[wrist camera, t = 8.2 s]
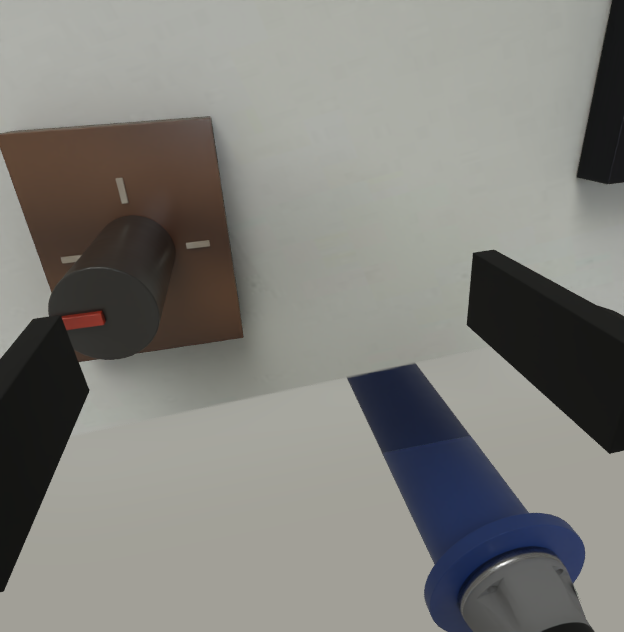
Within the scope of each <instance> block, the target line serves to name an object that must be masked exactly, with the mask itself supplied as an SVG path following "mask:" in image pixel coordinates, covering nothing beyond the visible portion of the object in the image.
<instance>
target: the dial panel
mask: <svg viewBox="0 0 624 632" xmlns="http://www.w3.org/2000/svg"><path fill="white" fill-rule="evenodd" d="M0 149H1V152H2V154H3V157H4V160H5V163H6V166H7V168H8V171H9V174H10V177H11V180H12V182H13V185H14V188H15V191H16V194H17V196H18V199H19V202H20V205H21V208H22V210H23V213H24V216H25V219H26V222H27V224H28V227H29V230H30V233H31V236H32V238H33V241H34V244H35V247H36V250H37V252H38V255H39V258H40V261H41V264H42V266H43V269H44V272H45V275H46V278H47V281H48V283H49V286H50V289H51V292H52V291H53V290H54V288H55V286H56V285H57V284H58V283H59V282H60V280H61V279H62V278H63V277H64V276H65V274H66V273H67V272H68V271H69V270H70V268H71V267H72V266H73V265H74V264H75V262H76V261H77V260H78V259H79V258H80V256H81V255H82V254H83V253H84V252H85V250H86V249H87V248H88V247H89V246H90V245H91V243H92V242H93V241H94V240H95V239H96V237H97V236H98V235H99V234H100V233H101V231H102V230H103V229H104V228H105V227H106V226H107V225H108V224H109V223H110V222H112V221H113V220H115V219H117V218H120V217H123V216H130V215H135V216H142V217H146V218H149V219H151V220H153V221H155V222H157V223H158V224H160V225H161V226H162V227H163V228H164V229H165V230H166V231H167V232H168V234H169V235H170V237H171V238H172V241H173V243H174V247H175V261H174V266H173V270H172V274H171V278H170V282H169V286H168V290H167V295H166V299H165V303H164V307H163V311H162V315H161V319H160V323H159V327H158V331H157V333H156V335H155V337H154V338H153V340H152V341H151V342H150V343H149V345H148V346H146V347H145V348H144V349H143V350H141V351H140V352H138V353H143V352H150V351H157V350H163V349H170V348H177V347H184V346H190V345H197V344H204V343H211V342H217V341H224V340H231V339H238V338H243V337H244V336H243V328H242V320H241V313H240V307H239V300H238V293H237V287H236V280H235V273H234V267H233V260H232V253H231V247H230V240H229V233H228V227H227V220H226V213H225V207H224V200H223V193H222V187H221V180H220V173H219V167H218V160H217V153H216V147H215V140H214V133H213V127H212V120H211V117H210V116H207V117H194V118H181V119H167V120H154V121H141V122H127V123H114V124H101V125H87V126H74V127H60V128H47V129H34V130H20V131H11V132H6V133H0ZM74 351H75V350H74ZM75 354H76V357H77V359H78V362H82V361H89V360H96V359H97V358H92V357H89V356H86V355H83V354H81V353H79V352H77V351H75Z"/></svg>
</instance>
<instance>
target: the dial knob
mask: <svg viewBox="0 0 624 632" xmlns="http://www.w3.org/2000/svg"><path fill="white" fill-rule="evenodd" d="M174 261H175V247H174V243H173V241H172V238H171V237H170V235H169V234H168V232H167V231H166V230H165V229H164V228H163V227H162V226H161V225H160V224H158V223H157V222H155V221H153V220H151V219H149V218H146V217H142V216H135V215H130V216H123V217H120V218H117V219H115V220H113V221H112V222H110V223H109V224H108V225H107V226H106V227H105V228H104V229H103V230H102V231H101V233H100V234H99V235H98V236H97V237H96V239H95V240H94V241H93V242H92V243H91V245H90V246H89V247H88V248H87V249H86V250H85V252H84V253H83V254H82V255H81V256H80V258H79V259H78V260H77V261H76V262H75V264H74V265H73V266H72V267H71V268H70V270H69V271H68V272H67V273H66V274H65V276H64V277H63V278H62V279H61V280H60V282H59V283H58V284H57V285H56V286H55V288H54V290H53V291H52V294H51V296H50V299H49V306H48V312H49V317H50V316H57V315H61V317H62V320H63V323H64V325H65V328H66V330H67V333H68V336H69V338H70V341H71V344H72V346H73V349H74V350H75V351H77V352H79V353H81V354H83V355H86V356H89V357H92V358H97V359H104V360H114V359H121V358H126V357H129V356H132V355H134V354H136V353H138V352H140V351H141V350H143V349H144V348H145V347H146V346H148V345H149V343H150V342H151V341H152V340H153V338H154V337H155V335H156V333H157V331H158V327H159V323H160V319H161V315H162V311H163V307H164V303H165V299H166V295H167V290H168V286H169V282H170V278H171V274H172V270H173V266H174Z"/></svg>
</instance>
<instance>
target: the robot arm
mask: <svg viewBox="0 0 624 632" xmlns="http://www.w3.org/2000/svg"><path fill="white" fill-rule="evenodd" d="M467 326H468V327H470V328H471V329H472V330H473V331H474V332H475V333H476V334H477V335H478V336H480V337H481V338H482V339H483V340H484V341H485V342H486V343H487V344H488V345H490V346H491V347H492V348H493V349H494V350H495V351H496V352H497V353H498V354H500V355H501V356H502V357H503V358H504V359H505V360H506V361H507V362H508V363H509V364H511V365H512V366H513V367H514V368H515V369H516V370H517V371H518V372H520V373H521V374H522V375H523V376H524V377H525V378H526V379H527V380H528V381H529V382H531V383H532V384H533V385H534V386H535V387H536V388H537V389H538V390H539V391H541V392H542V393H543V394H544V395H545V396H546V397H547V398H548V399H549V400H551V401H552V402H553V403H554V404H555V405H556V406H557V407H558V408H559V409H561V410H562V411H563V412H564V413H565V414H566V415H567V416H568V417H570V419H572V420H573V421H574V422H575V423H576V424H577V425H578V426H579V427H580V428H582V429H583V430H584V431H585V432H586V433H587V434H588V435H589V436H590V437H592V438H593V439H594V440H595V441H596V442H597V443H598V444H599V445H600V446H602V447H603V448H604V449H605V450H606V451H607V452H608V453H609V454H611V453H614V452H620V451H623V450H624V316H622V315H621V314H619V313H617V312H615V311H613V310H610V309H607V308H603V307H600V306H597V305H595V304H593V303H591V302H589V301H588V300H586V299H584V298H582V297H580V296H578V295H576V294H575V293H573V292H571V291H569V290H567V289H565V288H564V287H562V286H560V285H558V284H556V283H554V282H553V281H551V280H549V279H547V278H545V277H543V276H542V275H540V274H538V273H536V272H534V271H532V270H531V269H529V268H527V267H525V266H523V265H521V264H520V263H518V262H516V261H514V260H512V259H510V258H509V257H507V256H505V255H503V254H501V253H499V252H497V251H496V250H489V251H482V252H475V253H473V260H472V271H471V282H470V294H469V305H468V317H467ZM88 393H89V388H88V386H87V383H86V380H85V378H84V375H83V372H82V370H81V367H80V365H79V362H78V359H77V357H76V354H75V351H74V349H73V346H72V344H71V341H70V338H69V336H68V333H67V330H66V328H65V325H64V323H63V320H62V317H61V315H57V316H50V317H44V318H37V319H33V320H32V321H31V322H30V323H29V325H28V326H27V327H26V328H25V330H24V331H23V332H22V333H21V334H20V336H19V337H18V338H17V339H16V341H15V342H14V343H13V344H12V345H11V347H10V348H9V349H8V350H7V352H6V353H5V354H4V355H3V356H2V358H1V359H0V592H3V591H4V590H5V587H6V585H7V582H8V580H9V578H10V575H11V573H12V571H13V568H14V566H15V564H16V561H17V559H18V557H19V554H20V552H21V550H22V547H23V545H24V543H25V540H26V538H27V536H28V533H29V531H30V529H31V526H32V524H33V521H34V519H35V517H36V515H37V512H38V510H39V508H40V505H41V503H42V500H43V498H44V496H45V494H46V491H47V489H48V486H49V484H50V482H51V479H52V477H53V475H54V472H55V470H56V468H57V465H58V463H59V461H60V458H61V456H62V454H63V451H64V449H65V447H66V444H67V442H68V439H69V437H70V435H71V433H72V430H73V428H74V426H75V423H76V421H77V419H78V416H79V414H80V412H81V409H82V407H83V404H84V402H85V400H86V397H87V395H88ZM575 590H576V589H574V586H573V583H572V581H571V578H570V576H569V573H568V571H567V569H566V567H565V566H564V564H563V563H562V562H561V560H560V559H559V558H558V556H557V555H556V554H555V553H554V552H553V551H551V550H549V549H547V548H544V547H537V546H530V547H521V548H517V549H513V550H510V551H507V552H504V553H502V554H499V555H497V556H495V557H493V558H492V559H490V560H488V561H487V562H485V563H484V564H482V565H481V566H479V567H478V568H477V569H476V570H475V571H474V572H472V573H471V574H470V576H469V577H468V578H467V579H466V580H465V582H464V583H463V585H462V586H461V588H460V590H459V593H458V597H457V605H458V608H459V610H460V612H461V614H462V616H463V618H464V620H465V622H466V623H467V624H468V626H469V627H470V628H471V630H472V631H473V632H594V630H593V629H592V627H591V626H590V625H589V623H588V622H587V620H586V618H585V615H584V612H583V610H582V607H581V604H580V602H579V599H578V596H577V594H576V593H577V592H576V591H575Z"/></svg>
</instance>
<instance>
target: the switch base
mask: <svg viewBox="0 0 624 632" xmlns="http://www.w3.org/2000/svg"><path fill="white" fill-rule="evenodd" d="M577 177H578V178H582V179H586V180H591V181H595V182H600V183H604V184H614V183H623V182H624V0H612V5H611V10H610V15H609V20H608V25H607V30H606V35H605V40H604V45H603V50H602V55H601V60H600V65H599V70H598V75H597V80H596V85H595V90H594V94H593V99H592V104H591V109H590V114H589V119H588V124H587V129H586V134H585V139H584V144H583V149H582V154H581V159H580V164H579V169H578V174H577Z"/></svg>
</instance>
